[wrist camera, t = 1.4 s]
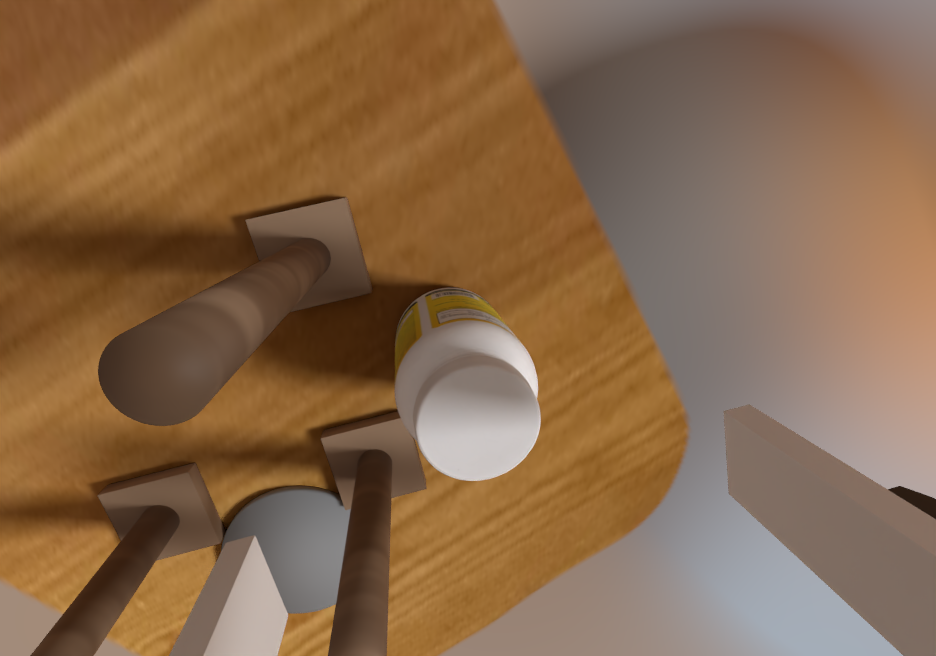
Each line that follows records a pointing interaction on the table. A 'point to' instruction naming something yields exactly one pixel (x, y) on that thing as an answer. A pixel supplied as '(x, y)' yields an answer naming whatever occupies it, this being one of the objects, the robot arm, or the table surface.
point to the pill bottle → (465, 385)
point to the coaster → (298, 542)
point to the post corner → (368, 524)
